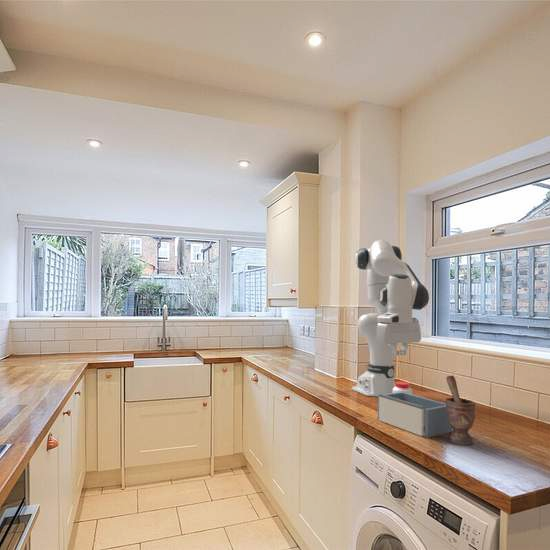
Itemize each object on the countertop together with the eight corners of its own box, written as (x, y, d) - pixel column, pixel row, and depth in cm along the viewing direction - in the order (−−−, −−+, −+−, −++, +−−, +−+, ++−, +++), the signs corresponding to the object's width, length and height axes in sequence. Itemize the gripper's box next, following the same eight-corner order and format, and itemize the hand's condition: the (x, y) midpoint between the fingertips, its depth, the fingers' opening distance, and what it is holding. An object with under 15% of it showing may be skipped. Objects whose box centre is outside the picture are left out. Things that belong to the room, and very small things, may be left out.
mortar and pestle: (433, 435, 133) (433, 375, 134) (452, 432, 136) (452, 374, 137) (460, 447, 122) (460, 382, 124) (481, 444, 126) (480, 381, 127)
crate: (377, 419, 150) (377, 395, 150) (401, 414, 157) (401, 391, 157) (427, 437, 131) (427, 410, 131) (452, 431, 137) (452, 405, 138)
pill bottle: (413, 409, 165) (413, 382, 166) (409, 413, 158) (409, 386, 159) (395, 406, 169) (395, 380, 170) (390, 410, 162) (390, 383, 163)
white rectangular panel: (378, 420, 148) (379, 394, 149) (380, 419, 148) (381, 394, 149) (421, 436, 132) (421, 406, 132) (423, 435, 132) (423, 406, 133)
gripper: (411, 317, 155) (411, 352, 154) (373, 317, 144) (373, 355, 143) (425, 317, 149) (425, 354, 148) (386, 318, 139) (386, 357, 138)
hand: (399, 355), depth 146 cm, fingers open, 2 cm apart
